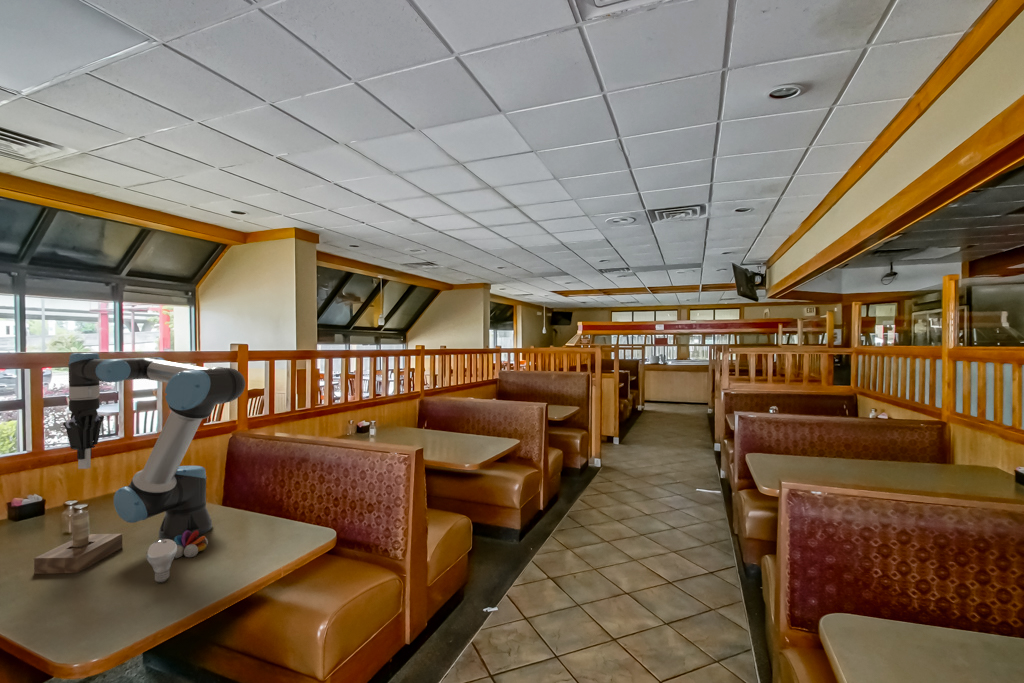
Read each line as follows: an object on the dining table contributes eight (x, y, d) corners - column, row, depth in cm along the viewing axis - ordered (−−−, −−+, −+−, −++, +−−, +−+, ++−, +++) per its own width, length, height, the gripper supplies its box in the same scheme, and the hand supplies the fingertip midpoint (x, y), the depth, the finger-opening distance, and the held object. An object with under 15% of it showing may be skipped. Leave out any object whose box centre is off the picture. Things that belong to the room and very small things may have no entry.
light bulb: (152, 591, 122) (152, 547, 122) (141, 584, 125) (141, 541, 125) (182, 579, 128) (182, 537, 127) (171, 573, 131) (171, 532, 131)
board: (122, 547, 147) (122, 533, 147) (77, 572, 131) (77, 557, 131) (83, 548, 146) (83, 534, 146) (34, 573, 130) (34, 558, 130)
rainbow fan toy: (198, 559, 140) (198, 535, 140) (163, 561, 139) (163, 537, 138) (212, 546, 148) (212, 524, 148) (180, 548, 147) (180, 526, 147)
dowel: (92, 556, 141) (92, 512, 141) (81, 562, 137) (81, 516, 137) (79, 557, 140) (79, 512, 140) (68, 562, 137) (68, 517, 137)
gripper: (89, 396, 158) (89, 462, 158) (54, 401, 145) (54, 474, 145) (112, 395, 159) (112, 462, 159) (78, 401, 146) (78, 473, 146)
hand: (84, 468), depth 152 cm, fingers closed
